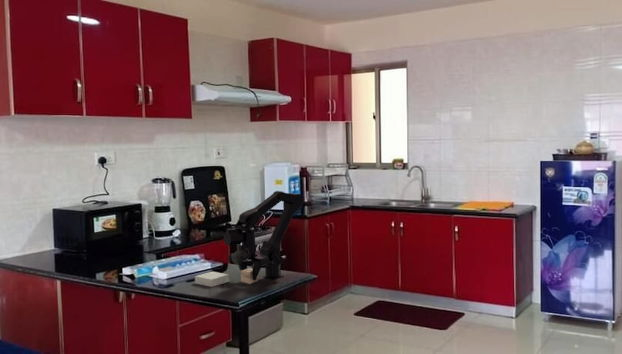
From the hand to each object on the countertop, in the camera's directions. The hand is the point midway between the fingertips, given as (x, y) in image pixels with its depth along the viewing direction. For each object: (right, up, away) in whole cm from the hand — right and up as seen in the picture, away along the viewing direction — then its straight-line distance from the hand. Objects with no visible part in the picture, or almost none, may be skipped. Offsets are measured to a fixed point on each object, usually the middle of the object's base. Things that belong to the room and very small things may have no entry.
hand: (249, 279), depth 244 cm
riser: (-16, -1, -1) cm, 16 cm away
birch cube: (0, -1, 0) cm, 1 cm away
